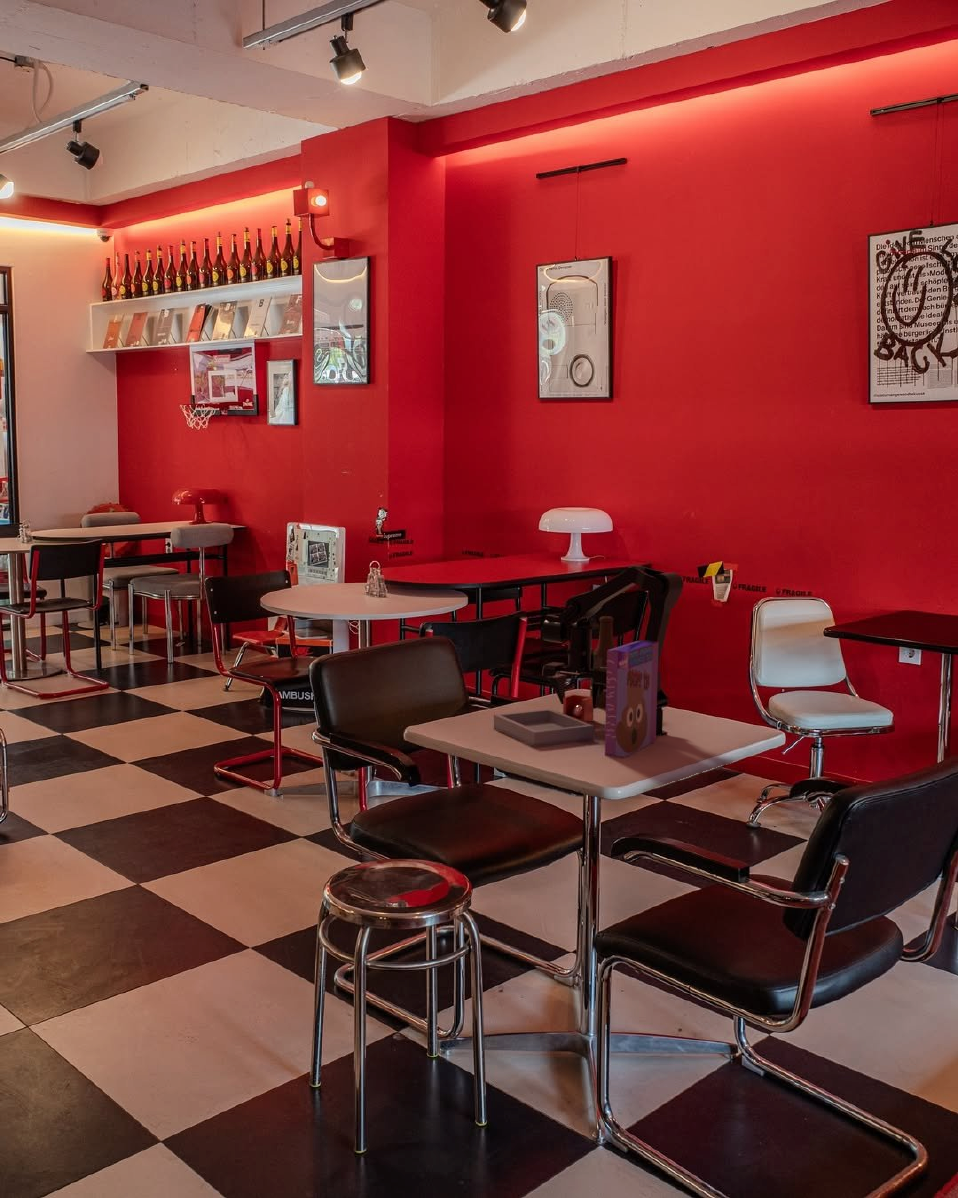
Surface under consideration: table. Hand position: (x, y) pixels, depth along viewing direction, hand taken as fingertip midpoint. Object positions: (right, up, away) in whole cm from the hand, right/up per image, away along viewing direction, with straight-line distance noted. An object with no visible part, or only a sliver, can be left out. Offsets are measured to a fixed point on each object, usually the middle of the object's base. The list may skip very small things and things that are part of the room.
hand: (578, 706), depth 285 cm
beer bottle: (+9, -2, +19) cm, 21 cm away
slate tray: (-10, -5, -14) cm, 18 cm away
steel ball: (0, -1, 0) cm, 1 cm away
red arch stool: (0, -4, 0) cm, 4 cm away
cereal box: (+10, -7, -27) cm, 29 cm away
